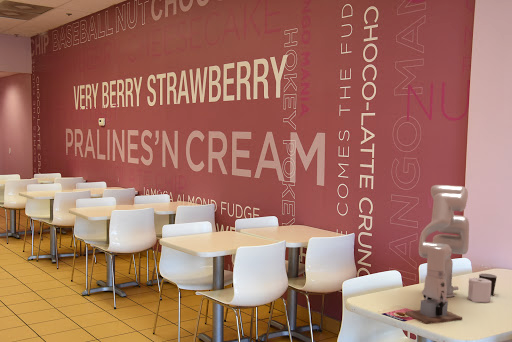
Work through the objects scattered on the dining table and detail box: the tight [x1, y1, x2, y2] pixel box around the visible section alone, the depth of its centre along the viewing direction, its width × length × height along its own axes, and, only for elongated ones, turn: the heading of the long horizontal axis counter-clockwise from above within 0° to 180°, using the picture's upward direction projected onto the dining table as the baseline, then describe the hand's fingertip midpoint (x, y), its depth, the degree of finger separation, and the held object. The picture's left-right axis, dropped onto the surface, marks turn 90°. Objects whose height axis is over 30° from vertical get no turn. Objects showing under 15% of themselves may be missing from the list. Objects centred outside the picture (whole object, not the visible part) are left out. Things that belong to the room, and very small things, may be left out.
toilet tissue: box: [467, 277, 492, 303], centre depth 267 cm, size 11×12×10 cm
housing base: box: [404, 309, 463, 325], centre depth 236 cm, size 20×14×4 cm
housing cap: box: [419, 299, 449, 317], centre depth 236 cm, size 10×6×6 cm, turn 112°
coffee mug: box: [478, 273, 497, 296], centre depth 281 cm, size 12×9×10 cm
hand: (433, 312), depth 236 cm, fingers open, 6 cm apart
